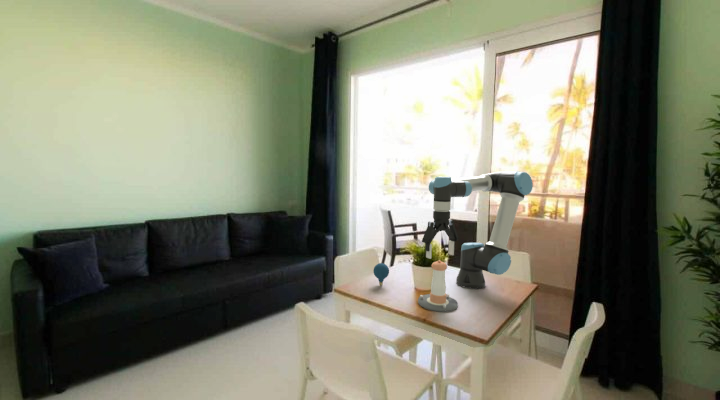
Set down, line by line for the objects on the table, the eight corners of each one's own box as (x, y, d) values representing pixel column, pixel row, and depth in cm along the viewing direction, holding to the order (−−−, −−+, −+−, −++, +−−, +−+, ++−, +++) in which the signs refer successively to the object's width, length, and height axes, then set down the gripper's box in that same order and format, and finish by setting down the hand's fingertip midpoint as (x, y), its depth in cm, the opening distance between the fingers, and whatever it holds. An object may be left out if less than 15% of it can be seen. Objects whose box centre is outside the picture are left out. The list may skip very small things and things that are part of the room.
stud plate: (447, 295, 164) (447, 290, 164) (464, 310, 146) (465, 305, 146) (412, 297, 161) (413, 291, 161) (426, 312, 143) (426, 306, 143)
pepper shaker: (446, 298, 156) (447, 259, 154) (445, 304, 149) (447, 263, 147) (430, 296, 158) (432, 257, 156) (429, 302, 151) (430, 261, 149)
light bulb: (381, 281, 183) (382, 260, 182) (391, 286, 176) (392, 264, 175) (369, 284, 178) (370, 262, 177) (380, 289, 171) (380, 266, 170)
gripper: (455, 208, 159) (453, 251, 161) (414, 210, 147) (413, 257, 149) (467, 210, 153) (465, 255, 155) (425, 212, 141) (424, 261, 143)
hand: (440, 256), depth 152 cm, fingers open, 13 cm apart
